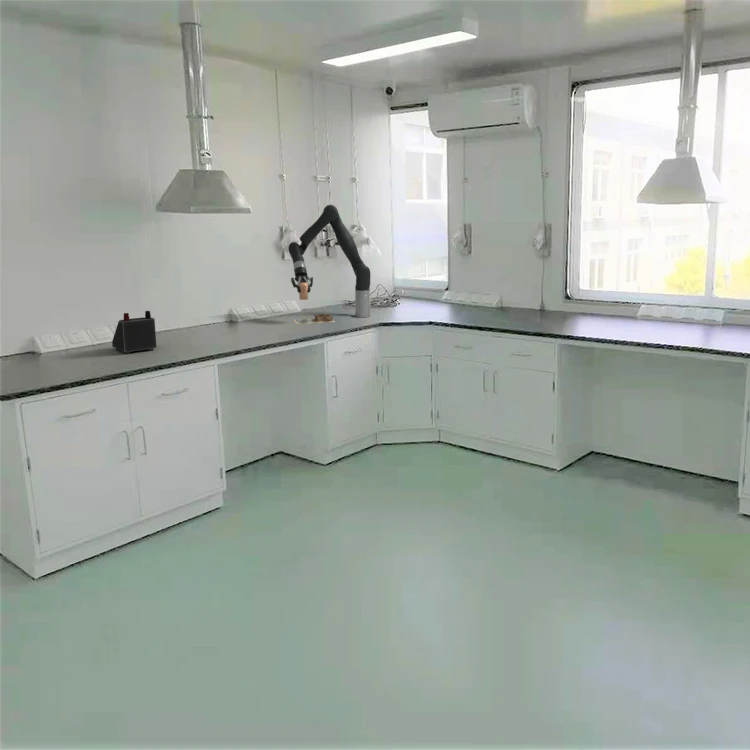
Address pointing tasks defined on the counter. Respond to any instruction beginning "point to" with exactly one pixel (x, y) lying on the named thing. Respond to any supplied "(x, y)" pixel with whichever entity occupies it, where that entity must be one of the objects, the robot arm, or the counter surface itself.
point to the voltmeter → (135, 334)
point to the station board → (316, 319)
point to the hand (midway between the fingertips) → (304, 291)
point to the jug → (303, 290)
